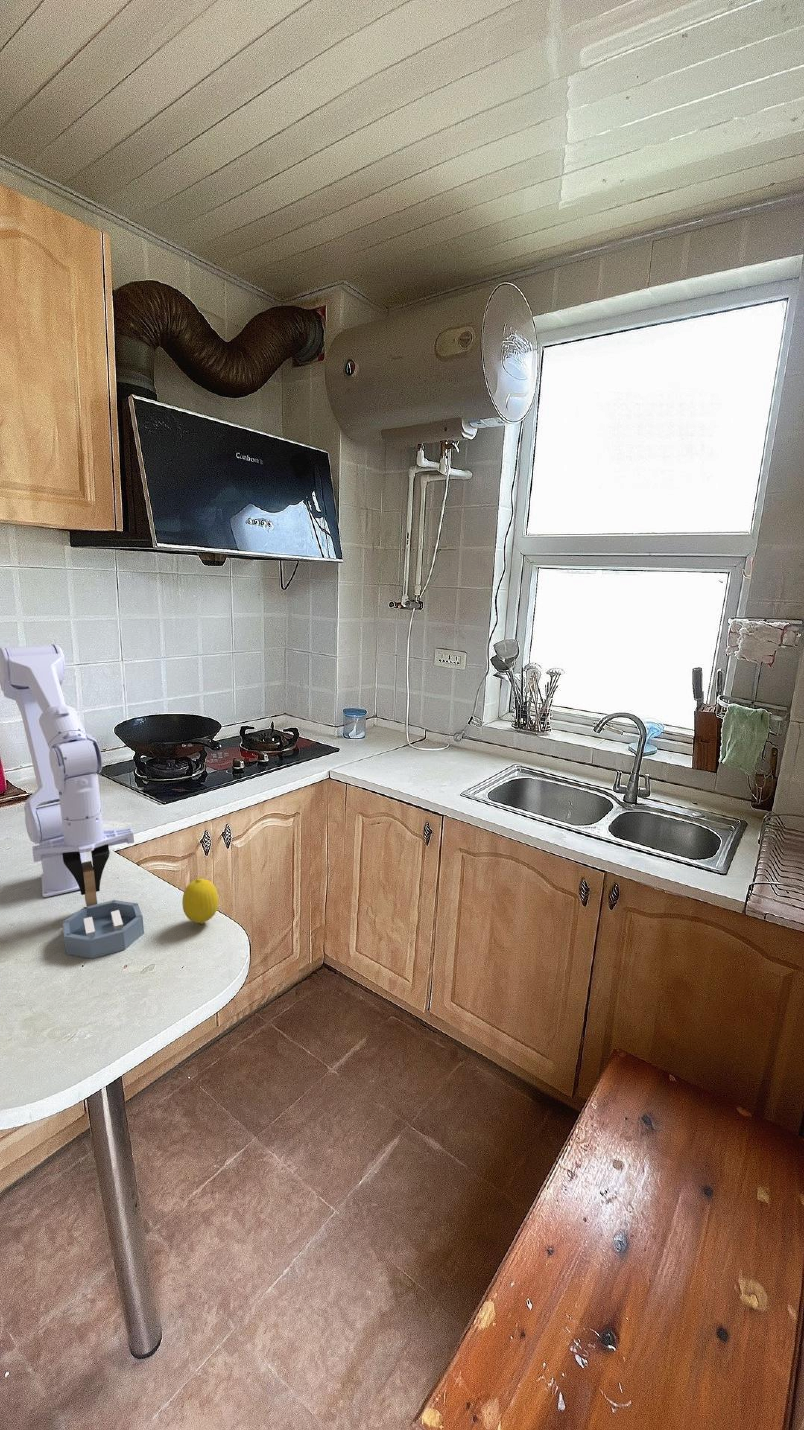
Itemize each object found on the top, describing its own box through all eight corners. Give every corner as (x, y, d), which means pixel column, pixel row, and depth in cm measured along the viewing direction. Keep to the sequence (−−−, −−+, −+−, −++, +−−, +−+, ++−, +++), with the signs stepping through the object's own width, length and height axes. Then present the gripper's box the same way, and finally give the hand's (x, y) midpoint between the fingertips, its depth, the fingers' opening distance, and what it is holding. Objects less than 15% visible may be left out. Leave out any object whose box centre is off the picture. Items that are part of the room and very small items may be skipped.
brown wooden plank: (85, 900, 102) (81, 862, 100) (95, 898, 103) (91, 860, 101) (87, 911, 98) (83, 872, 97) (97, 909, 99) (93, 870, 98)
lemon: (223, 914, 101) (220, 870, 100) (214, 932, 96) (211, 886, 94) (190, 914, 101) (187, 870, 99) (179, 933, 96) (175, 887, 94)
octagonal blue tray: (63, 929, 96) (61, 912, 96) (136, 910, 102) (135, 894, 101) (67, 965, 87) (65, 947, 87) (147, 943, 93) (146, 925, 92)
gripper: (29, 831, 90) (39, 913, 93) (134, 813, 97) (140, 889, 100) (28, 815, 96) (38, 893, 99) (127, 799, 103) (134, 872, 106)
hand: (90, 890), depth 100 cm, fingers closed on brown wooden plank, 1 cm apart
